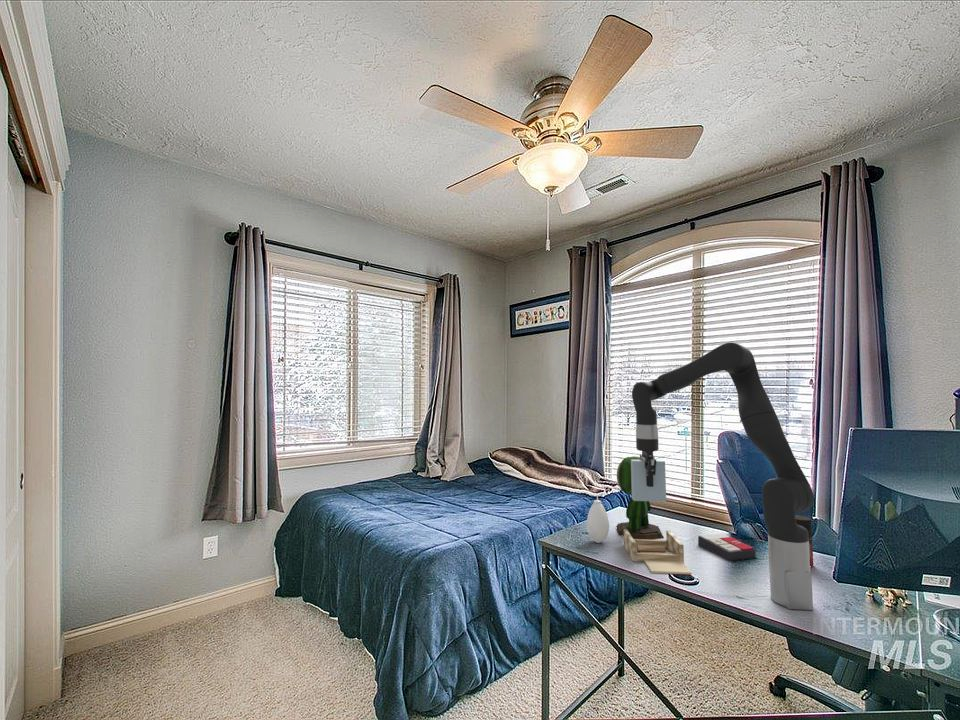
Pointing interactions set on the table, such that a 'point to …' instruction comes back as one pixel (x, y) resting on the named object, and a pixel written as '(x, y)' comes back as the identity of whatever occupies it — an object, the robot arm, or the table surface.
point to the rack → (670, 543)
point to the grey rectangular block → (640, 484)
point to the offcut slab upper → (650, 548)
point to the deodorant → (807, 524)
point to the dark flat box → (726, 546)
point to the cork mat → (667, 567)
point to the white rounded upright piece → (597, 522)
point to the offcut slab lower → (655, 552)
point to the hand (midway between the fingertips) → (648, 485)
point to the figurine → (635, 507)
